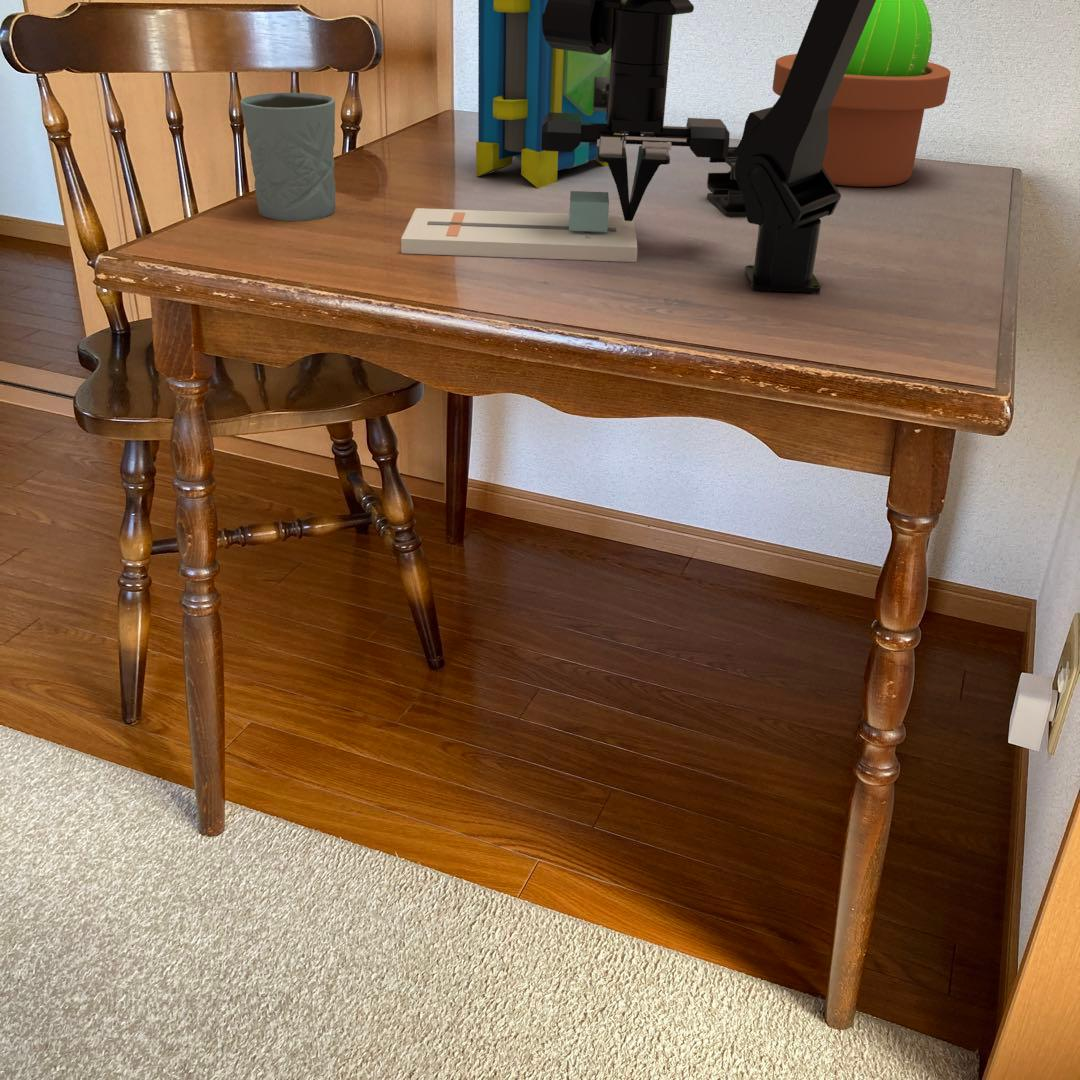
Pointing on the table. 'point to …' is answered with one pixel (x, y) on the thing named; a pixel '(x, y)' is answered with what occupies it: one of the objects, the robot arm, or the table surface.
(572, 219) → the fader tab
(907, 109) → the potted cactus
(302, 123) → the grey-green plant pot
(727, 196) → the end cap
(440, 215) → the fader panel
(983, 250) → the table surface
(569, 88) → the decorative book
